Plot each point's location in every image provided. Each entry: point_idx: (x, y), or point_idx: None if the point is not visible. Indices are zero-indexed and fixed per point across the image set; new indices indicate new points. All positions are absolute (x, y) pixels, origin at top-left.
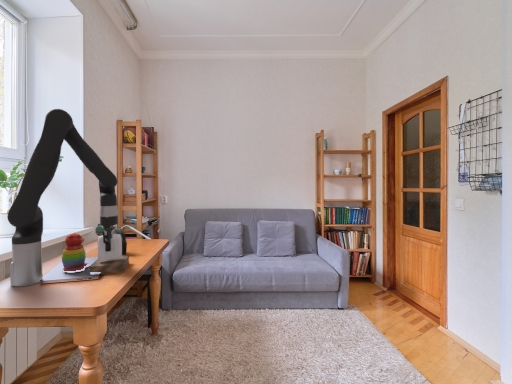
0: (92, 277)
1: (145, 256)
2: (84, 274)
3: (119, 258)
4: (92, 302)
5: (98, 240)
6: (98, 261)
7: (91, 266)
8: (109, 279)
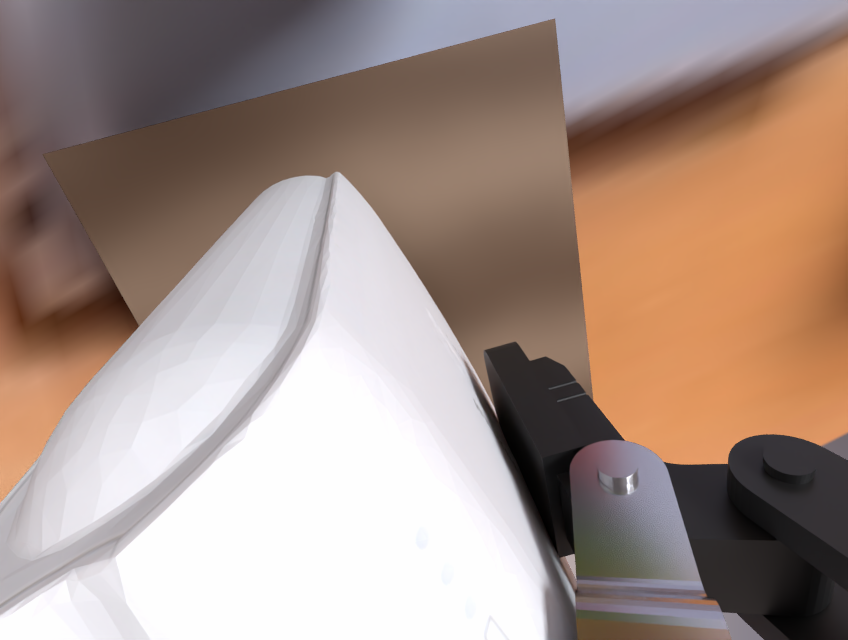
0: (62, 225)
1: (771, 421)
2: (151, 35)
3: (486, 377)
4: None
5: (36, 466)
6: (357, 142)
7: (71, 186)
8: (45, 435)
